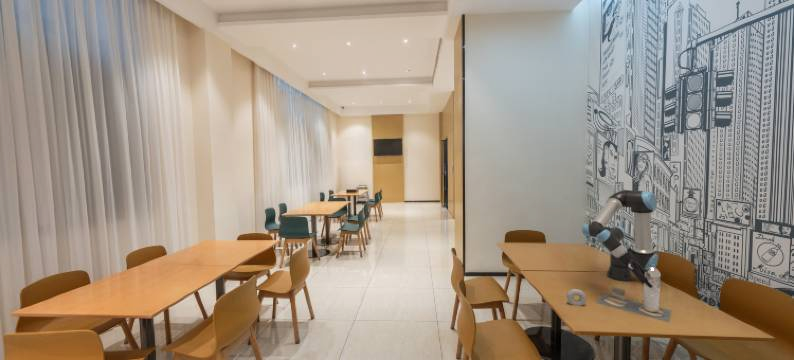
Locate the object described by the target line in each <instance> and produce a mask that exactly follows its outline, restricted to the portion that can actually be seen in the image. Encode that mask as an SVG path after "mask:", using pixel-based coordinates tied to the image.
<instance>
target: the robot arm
mask: <svg viewBox="0 0 794 360" xmlns="http://www.w3.org/2000/svg"><path fill="white" fill-rule="evenodd" d="M657 200H658V199H657V196H656V195H655V193H653V192H652V191H646V190H633V189H632V190H631V189H630V190H628V189H624V190H620V191H616V192H615V193H613V194H611V195H610V196H609V197H608V198H607V200H606V202H605V205H604V206H603V207H602V208H601V210H600V211H599V212H598V214H597V215H596V216H595V217H594V219H593V220H592V221H591V222H590V223H585V224H583V226H582V227H581V230H582V234H583V235H584V236H586V237H587V236H588V237H592V238H596V239H597V240H598V241H599V243H600V244H602V245H603V246H604V247H605V248H606V249H607V250H608V251H609V253H610V256H609V257H610V259H609V260H610V262H609V267H608V269H607V272H606V276H607V277H608V278H610V279H612V280H615V281H621V282H631V281H634V278H633V277H634V276H633V275H635V277H636V278H637V279H638V280H639V281H640V282H641V284H643V285H644V283H645V284H646V285H647V286H648V287H649V288H650V289H651V290H652V291H653V292H654V293H657V292H659V290H658V289H657V288H656V287H655V286H654V285H653V284H652V283H651V282H650V281H649V280H648V279H647V278H646V277H645V273H644V272H645V270H646V269H647V268H649V267H651V264H654V265H655V268H657V265H658V262H659V254H658V253H655V248H653V247H652V231H651V227H652V225H651V214H652V213H653V212H654V210H656V209H657V204H658V201H657ZM622 208H629V209H630V212H631V213H633V226H634V246H633V247H631V245H626V244H625V245H624V244H622V243H621V241H622V240H623V239H624V238H625V237H626V235H627V231H626V229H624V228H623V227H622V226H619V225H616V226H614V227H609V226H607V225H608V224H609V222H610V221H611V219H612V218H613V217H614V215H616V213H617V211H619V210H621V209H622ZM661 287H662V286H661V285H660V288H661Z"/></svg>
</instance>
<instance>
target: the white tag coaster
mask: <svg viewBox="0 0 794 360" xmlns="http://www.w3.org/2000/svg"><path fill="white" fill-rule="evenodd" d="M625 292H626V291H625V289H624V288H619V287H614V286H612V288H611V296H612V297H613V298H605V299H604V301H605V302H606V303H607V304H610V305H613V306H617V307H626V306H627V303H626V302H625V301H623V300H624V299H625V294H626V293H625ZM616 298H617V299H616ZM620 299H621V300H620Z"/></svg>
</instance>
